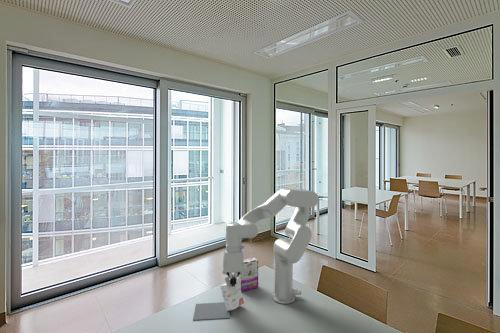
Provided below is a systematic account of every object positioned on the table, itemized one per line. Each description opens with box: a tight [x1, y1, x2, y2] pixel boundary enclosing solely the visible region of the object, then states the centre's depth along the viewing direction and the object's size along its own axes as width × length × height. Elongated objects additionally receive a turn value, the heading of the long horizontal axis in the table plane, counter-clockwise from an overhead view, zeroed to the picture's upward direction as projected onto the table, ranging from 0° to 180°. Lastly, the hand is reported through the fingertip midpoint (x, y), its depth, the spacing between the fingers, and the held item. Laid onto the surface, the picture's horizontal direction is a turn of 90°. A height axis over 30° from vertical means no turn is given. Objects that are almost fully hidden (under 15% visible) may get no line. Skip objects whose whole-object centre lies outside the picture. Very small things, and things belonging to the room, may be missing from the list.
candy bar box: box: [237, 256, 259, 293], centre depth 147 cm, size 11×5×16 cm, turn 117°
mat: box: [192, 301, 231, 322], centre depth 124 cm, size 17×13×1 cm
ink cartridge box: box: [219, 273, 245, 311], centre depth 128 cm, size 9×5×15 cm, turn 143°
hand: (233, 285), depth 125 cm, fingers closed
